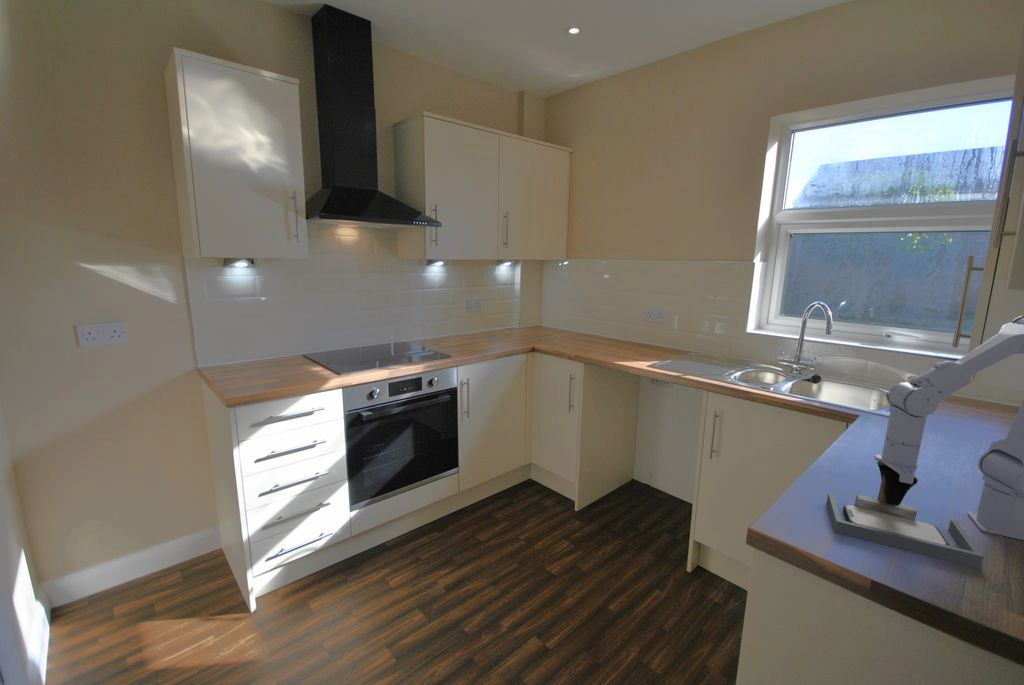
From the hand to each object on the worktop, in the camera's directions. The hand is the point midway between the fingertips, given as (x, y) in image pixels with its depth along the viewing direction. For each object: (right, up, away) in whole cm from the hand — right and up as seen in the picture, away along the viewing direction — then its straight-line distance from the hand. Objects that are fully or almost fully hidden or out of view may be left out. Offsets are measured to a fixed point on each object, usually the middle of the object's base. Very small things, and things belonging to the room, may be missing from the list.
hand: (890, 500), depth 100 cm
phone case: (-3, -5, -4) cm, 7 cm away
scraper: (-1, -4, +1) cm, 4 cm away
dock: (-3, -5, -5) cm, 8 cm away
